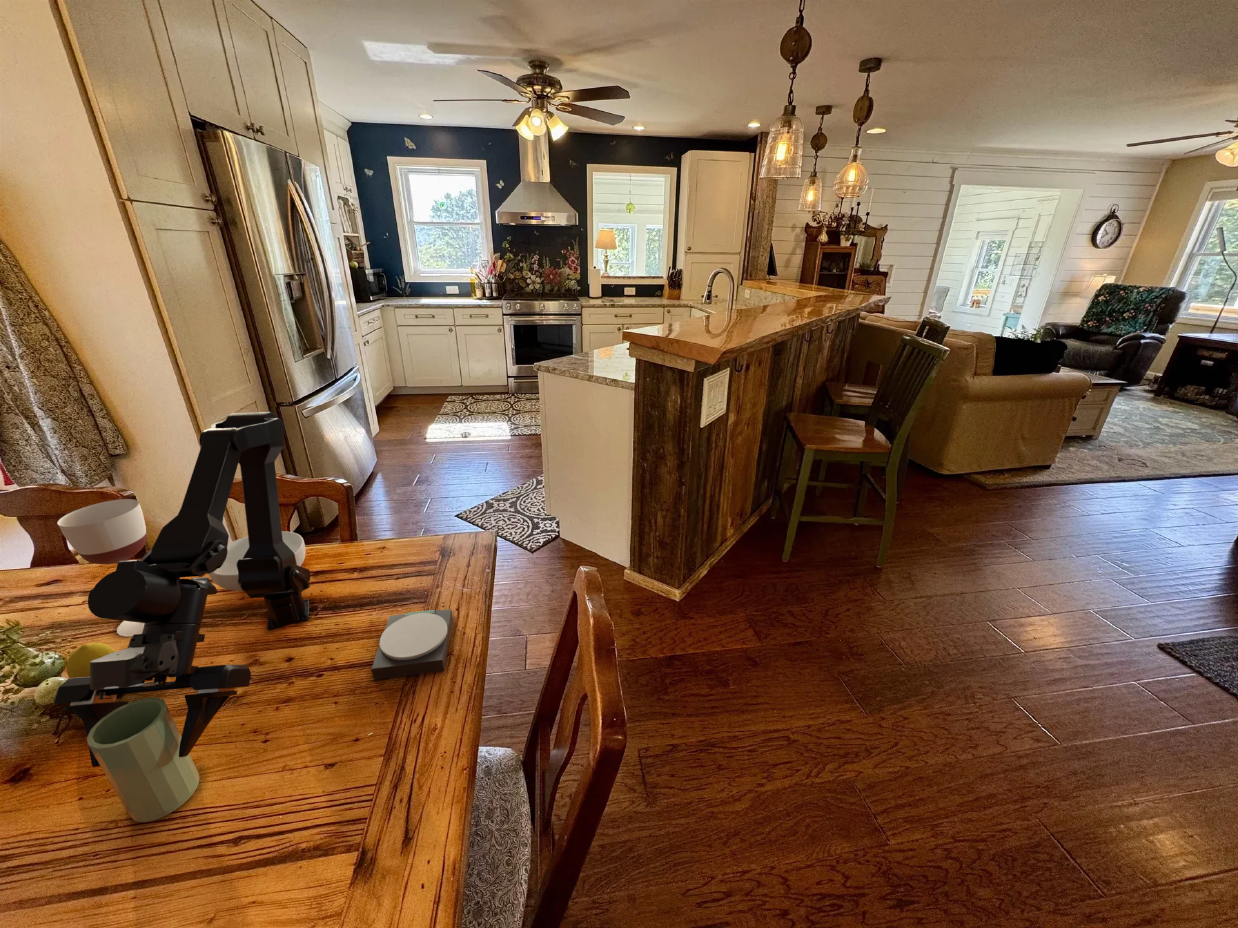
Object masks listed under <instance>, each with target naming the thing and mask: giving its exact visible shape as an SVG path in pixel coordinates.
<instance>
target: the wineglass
mask: <svg viewBox="0 0 1238 928" xmlns="http://www.w3.org/2000/svg"><path fill="white" fill-rule="evenodd" d="M143 513H144V512H143V510H142V507H141V504H140V501H138V500H137V499H134V498H120V499H113V500H107V501H102V502H97V503H95V504H89V505H88V506H87V505H86V506H84V507H81V508H77V509H75V510H73V511H71V512H69V513H67V514H65V515H63V516H62V517H61V518H59V519H58V520H57V525H58V527H59V529H60V531H61V533H62V535H63V537H64V538H65V539H66V541H67V542H68V543H69V545H70V546H71V547H72V549H73V550H75V552H76V553H77V554H78V556H80V557H81V558H82V559H83V560H84V561H86V562H88V563H91V564H96V565H118V562H119V561H129V560H131V558H133V557H135V555H137V554H138V553H139V552H140V551H141V550H142V549H143V548H144V547H145V546H146V543H147V539H148V538H147V537H148V536H147V528H146V520H145V517H144V514H143ZM144 624H145V623H139V622H130V621H122V622H121V623H119V625H118V627H117V628H116V633H117V634H118V636H121V637H133V635H134V634H142V631H143V628H144Z"/></svg>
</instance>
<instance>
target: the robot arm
mask: <svg viewBox="0 0 1238 928" xmlns="http://www.w3.org/2000/svg"><path fill="white" fill-rule="evenodd" d="M210 426H211V428H208V429H205V430H203V431H202V432H201V433H200V434H199V439H198V440H199V445H200V449H199V451H198V456H197V459H196V461H195V464H194V467H193V470H192V472H191V475H190V480H189V481H188V485H187V488H186V492H185V494H184V497H183V501H182V504H181V506H180V509H179V511H178V513H177V515H175V516H174V517H173V518H172V519H171V520H169V521H168V522H167V523H166V524H164V526H162V527H161V529H160V531H159V533H158V535H157V537H156V539H155V541H154V543H153V545H152V547H151V548H150V549H149V550H148V551H147V553H145V554H144V555H143V556H142V558H140V559H135V560H134V559H132V560H131V559H129V560H127V561H119V562H118V564H116V567H115V568H116V569H115V570H113V571H112V572H110V573H108V574H106V575H104V577H102V578H101V579H100V580H98V582H96V584H95V585H94V587H93V588H91V590H90V591H89V594H88V596H87V607H88V610H89V611H90V613H91V614H92V615H94V616H95V617H97V618H100V619H104V620H114V621H122V622H123V621H130V622H139V623H145V624H144V628H143V631H142V634H134V635H133V636H131V638H130V639H129V642H128V646H127V648H124V649H120V650H117V651H116V650H115V652H113V653H111V654H108V655H105V656H103V657H100V658H98V659H95V660H92V661H91V662H90V677H82V678H68V679H67V680H65V681H64V682H63V683H62V684H61V685H60V686H58V688H57V689H56V693H55V696H54V700H53V702H52V705H59V704H60V705H61V704H69V705H65V706H63V709H64V711H65V712H73V714H75V715H76V716H77V717H78V718H79V719H80V720H81V721H82V724H83V727H84V730H85V733H86V738H87V737H88V735H89V733H90V730H91V729H92V728H93V727H94V726H95V725H96V724H97V723H98V722H99V721H100V720H101V719H102V718H103V717H105V716H106V715H108V714H109V713H111V712H112V711H114V710H115V709H117V708H119V707H121V706H124V705H126V704H128V703H130V702H129V701H117V700H121V699H123V698H124V697H125V696H126V695H129V694H139V693H140V694H141V693H150V692H151V693H152V692H162V691H172V690H183V689H193V690H194V691H197V692H196V693H191V694H184V699H185V700H184V701H185V703H186V707H187V712H186V716H185V721H184V725H183V729H182V733H181V741H180V747H179V757H186V756H187V755H188V754H190V753H191V751H192V750H193V748H194V747H195V745H196V744H197V742H198V741H199V739H200V738H201V736H202V735H203V733H204V732H205V730H206V729H207V727H208V726H209V724H210V723H211V721H212V720H213V719H214V717H215V716H216V715H217V713H218V712H219V711H220V710H221V708H222V707H223V706H224V704H225V703H226V702H227V700H228V699H229V698H230V697H231V696H237V695H238V690H235V689H236V688H247V687H250V683H251V678H252V671H251V670H250V667H249V665H248V664H218V665H217V664H216V665H206V666H199V665H193V663H194V659H195V653H196V649H197V645H198V643H205V639H206V633H200V632H201V626H202V621H203V618H204V614H205V613H204V612H205V609H206V603H207V600H208V596H213V595H214V596H215V595H217V594H218V589H217V587H216V586H215V585H214V584H213V583H212V582H211V580H210V577H208V576H207V577H206V576H205V575H207V574H208V575H209V573H212V572H214V571H215V570H217V569H218V568H221V566H222V565H223V563H224V561H225V560H226V557H227V552H228V550H227V545H228V544H229V538H230V535H229V533H228V531H227V529H226V526H225V525H224V523H223V522H224V517H225V511H226V508H227V505H228V501H229V498H230V494H231V492H232V491H231V490H232V487H233V484H234V480H235V477H236V473H237V469H238V466H239V467H240V475H241V484H242V485H241V486H242V495H243V501H244V502H243V504H244V512H245V520H246V521H245V522H246V531H247V536H248V540H249V548H248V550H247V552H246V553H245V555H244V557H243V558H242V559H239V560H238V562H237V569H238V583H239V585H240V587H241V589H242V590H243V591H242V592H244V593H245V594H246V595H247V597H248V598H249V599H257V598H263V599H264V603H265V607H266V609H267V613H268V618H267V626H266V629H267V631H269V632H270V631H273V630H277V629H280V628H284V627H288V626H292V625H295V624H300V623H303V622H306V621H308V620H309V618H310V616H309V615H310V599H308V598H306V599H304V595H303V592H304V591H305V590H308V589H309V588H310V587H311V585H310V582H311V572H310V569H309V568H306V567H303V566H302V565H301V566H298V565H297V563H296V558H295V554H294V552H293V551H292V550H291V549H290V548H289V547H288V546H287V545H286V544H285V543H284V542H283V539H282V531H283V530H282V521H281V512H280V511H281V510H280V502H279V501H280V500H279V494H278V493H279V491H278V483H277V472H276V466H275V465H276V460H277V458H278V457H279V455H280V453H281V452H282V450H283V449H284V445H285V443H284V441H285V440H284V437H285V434H286V426H285V422H284V421H283V419H282V418H280V417H278V415H277V414H276V413H275V412H272V411H259V412H232V413H229V414H228V415H227V417H226V419H224V420H223V419H222V420H220V421H218V422H214V423H212V424H210ZM203 576H205V577H203ZM190 578H191V579H190ZM168 678H175V679H174V680H173V681H172V680H171V681H167V679H168ZM146 681H147V682H146ZM149 681H150V682H149ZM87 745H88V744H87ZM88 752H89V756H90V763H91V767H92V768H97V767H101V766H100V764H99V763H98V761H97V759H96V757H95V756H94V754H93V752H92V751H91V749H90V747H89V745H88Z"/></svg>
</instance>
